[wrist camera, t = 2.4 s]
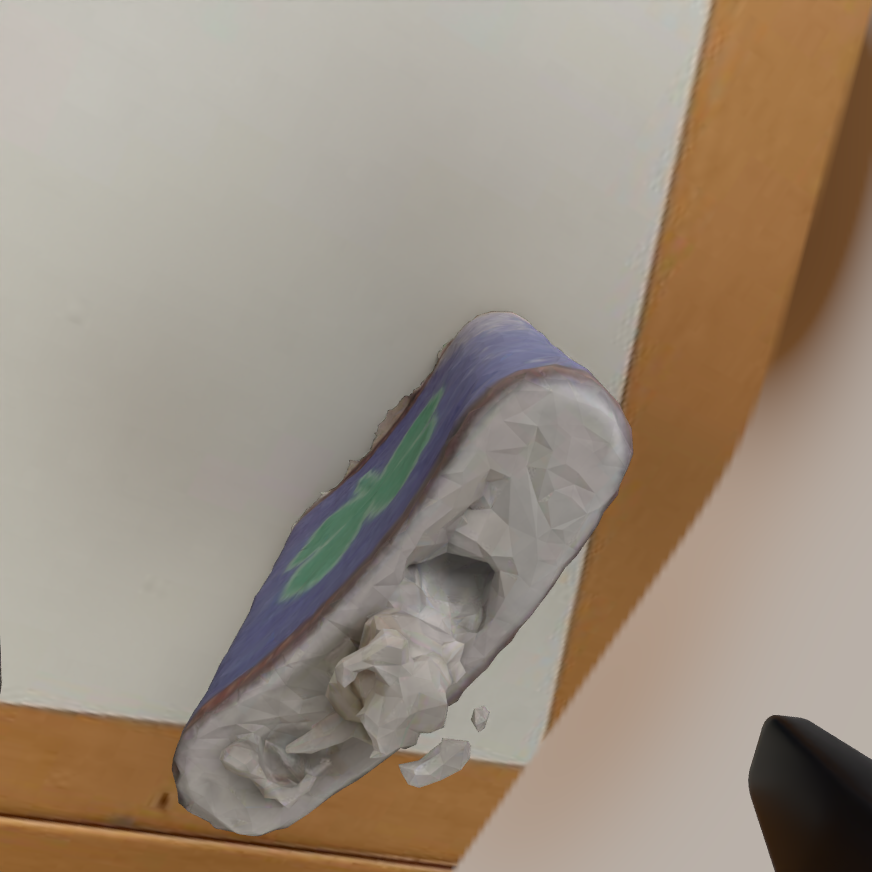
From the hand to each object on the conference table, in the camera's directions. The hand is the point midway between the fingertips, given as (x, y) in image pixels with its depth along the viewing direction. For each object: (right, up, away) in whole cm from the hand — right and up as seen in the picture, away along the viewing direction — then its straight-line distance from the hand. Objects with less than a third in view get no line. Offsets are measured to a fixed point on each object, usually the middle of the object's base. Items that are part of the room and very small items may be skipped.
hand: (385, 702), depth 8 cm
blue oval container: (0, +3, +11) cm, 11 cm away
